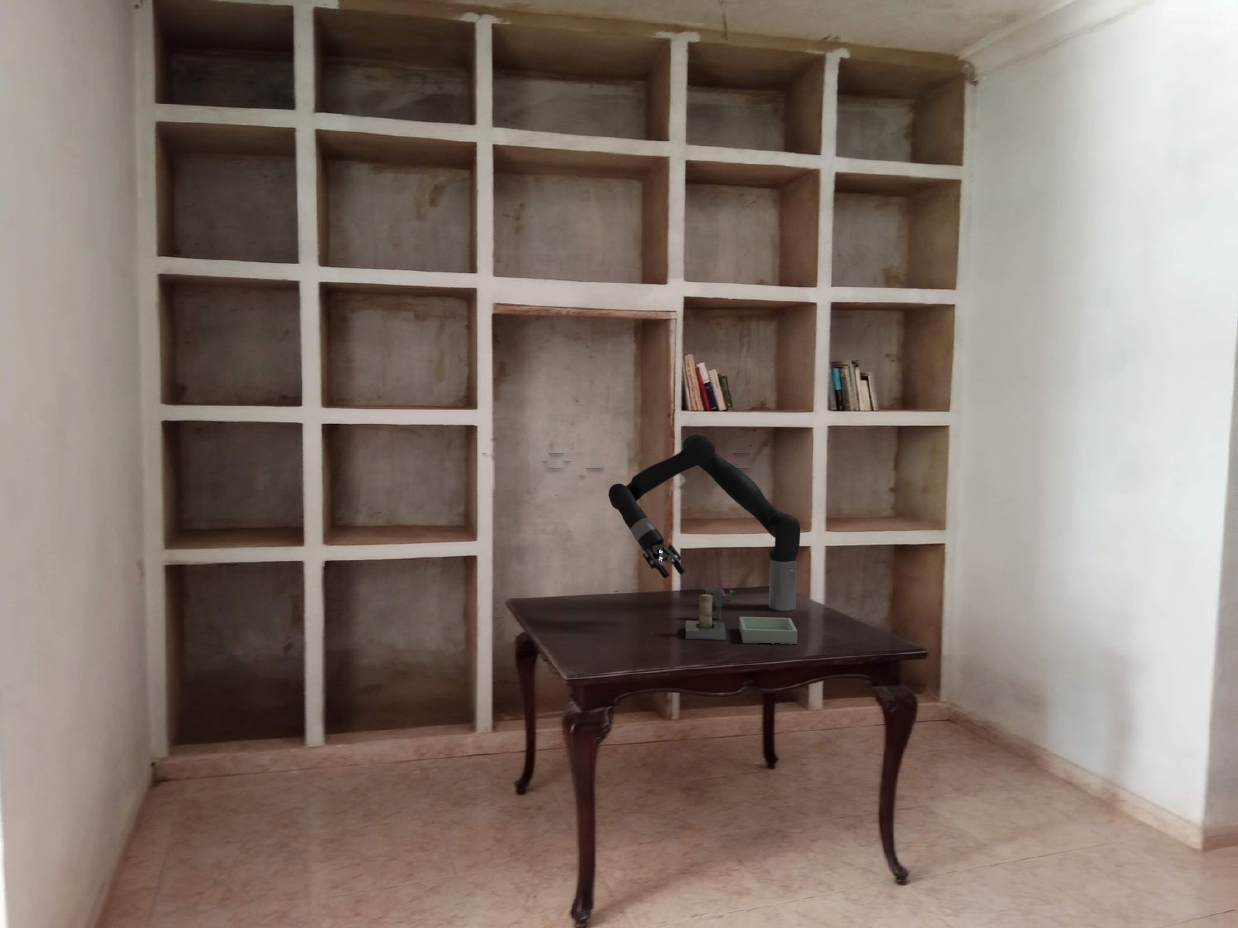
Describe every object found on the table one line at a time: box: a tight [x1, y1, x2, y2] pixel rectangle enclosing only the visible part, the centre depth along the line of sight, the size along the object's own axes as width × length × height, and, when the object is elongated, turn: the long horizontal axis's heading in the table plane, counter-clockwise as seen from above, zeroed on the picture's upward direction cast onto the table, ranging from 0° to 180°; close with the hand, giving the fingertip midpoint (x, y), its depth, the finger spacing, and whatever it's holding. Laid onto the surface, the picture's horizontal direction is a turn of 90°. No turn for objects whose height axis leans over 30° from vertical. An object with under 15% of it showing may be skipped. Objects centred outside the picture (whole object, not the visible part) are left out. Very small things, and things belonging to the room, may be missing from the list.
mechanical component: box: [702, 587, 736, 620], centre depth 282 cm, size 3×10×10 cm, turn 79°
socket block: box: [685, 620, 727, 641], centre depth 264 cm, size 12×12×2 cm
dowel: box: [698, 594, 713, 629], centre depth 263 cm, size 4×4×12 cm
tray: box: [738, 616, 798, 645], centre depth 261 cm, size 16×16×4 cm
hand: (675, 574), depth 270 cm, fingers open, 8 cm apart
